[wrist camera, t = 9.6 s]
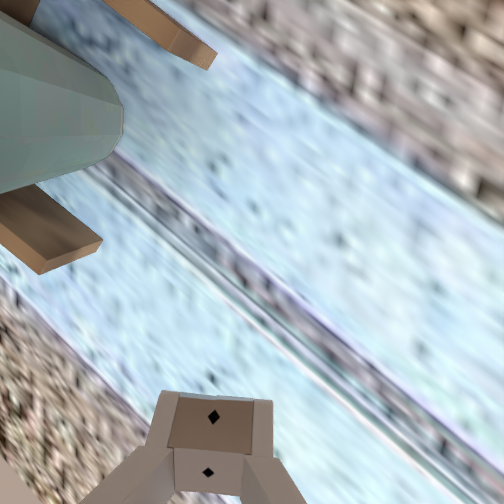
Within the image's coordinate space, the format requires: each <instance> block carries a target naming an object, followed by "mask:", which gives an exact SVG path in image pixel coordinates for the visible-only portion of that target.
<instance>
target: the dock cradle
mask: <svg viewBox="0 0 504 504" xmlns="http://www.w3.org/2000/svg"><path fill="white" fill-rule="evenodd" d="M103 1H104V2H105V3H106V4H108V5H109V6H110V7H112V8H113V9H114V10H115V11H117V12H118V13H119V14H120V15H122V16H123V17H124V18H126V19H127V20H128V21H129V22H131V23H132V24H133V25H135V26H136V27H137V28H138V29H140V30H141V31H142V32H143V33H145V34H146V35H147V36H149V37H150V38H151V39H152V40H154V41H155V42H156V43H158V44H159V45H160V46H161V47H163V48H164V49H165V50H166V51H168V52H170V53H172V54H174V55H176V56H178V57H180V58H182V59H184V60H186V61H189V62H191V63H193V64H195V65H197V66H199V67H201V68H203V69H205V70H208V68H209V67H210V65H211V63H212V62H213V60H214V59H215V57H216V55H217V54H218V53H217V52H215V51H214V50H213V49H211V48H210V47H209V46H208V45H206V44H205V43H204V42H202V41H201V40H200V39H199V38H197V37H196V36H195V35H193V34H192V33H191V32H190V31H188V30H187V29H186V28H184V27H183V26H182V25H181V24H179V23H178V22H177V21H175V20H174V19H173V18H172V17H170V16H169V15H168V14H166V13H165V12H164V11H163V10H161V9H160V8H159V7H158V6H156V5H155V4H154V3H152V2H151V1H150V0H103ZM39 2H40V0H0V11H1V12H3V13H5V14H6V15H8V16H10V17H11V18H13V19H15V20H16V21H18V22H20V23H21V24H23V25H25V26H26V27H29V24H30V22H31V20H32V18H33V15H34V13H35V11H36V9H37V6H38V4H39ZM102 241H103V239H102V238H101V237H99V236H98V235H97V234H96V233H94V232H93V231H92V230H91V229H89V228H88V227H87V226H86V225H84V224H83V223H82V222H81V221H79V220H78V219H77V218H76V217H75V216H73V215H72V214H71V213H70V212H68V211H67V210H66V209H65V208H63V207H62V206H61V205H60V204H58V203H57V202H56V201H55V200H53V199H52V198H51V197H50V196H48V195H47V194H46V193H45V192H44V191H42V190H41V189H40V188H39V187H37V186H36V185H35V184H31V185H28V186H24V187H21V188H18V189H14V190H11V191H8V192H4V193H1V194H0V244H1V245H2V246H4V247H5V248H6V249H7V250H9V251H10V252H11V253H12V254H13V255H15V256H16V257H17V258H18V259H20V260H21V261H22V262H23V263H25V264H26V265H27V266H28V267H29V268H31V269H32V270H33V271H34V272H36V273H37V274H38V275H41V274H43V273H46V272H48V271H51V270H53V269H56V268H58V267H60V266H63V265H65V264H68V263H70V262H72V261H75V260H77V259H80V258H82V257H84V256H87V255H89V254H92V253H94V252H96V251H97V249H98V247H99V246H100V244H101V242H102Z"/></svg>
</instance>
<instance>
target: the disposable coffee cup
mask: <svg viewBox="0 0 504 504" xmlns="http://www.w3.org/2000/svg"><path fill="white" fill-rule="evenodd" d="M122 131H123V107H122V105H121V102H120V100H119V98H118V96H117V93H116V91H115V89H114V87H113V85H112V84H111V82H110V80H109V79H107V78H106V77H105V76H104V75H102V74H101V73H100V72H98V71H97V70H96V69H95V68H93V67H92V66H91V65H90V64H88V63H87V62H85V61H83V60H82V59H80V58H78V57H77V56H75V55H73V54H72V53H70V52H68V51H67V50H65V49H63V48H62V47H60V46H58V45H56V44H55V43H53V42H51V41H50V40H48V39H46V38H45V37H43V36H41V35H40V34H38V33H36V32H35V31H33V30H31V29H30V28H28V27H26V26H25V25H23V24H21V23H20V22H18V21H16V20H15V19H13V18H11V17H10V16H8V15H6V14H5V13H3V12H1V11H0V194H1V193H4V192H8V191H11V190H14V189H18V188H21V187H24V186H28V185H31V184H34V183H38V182H41V181H44V180H48V179H51V178H54V177H57V176H61V175H64V174H67V173H71V172H74V171H77V170H81V169H84V168H87V167H89V166H91V165H93V164H95V163H97V162H99V161H101V160H103V159H105V158H107V157H108V156H109V154H110V153H112V151H113V149H114V147H115V146H116V144H117V142H118V140H119V139H120V137H121V135H122Z"/></svg>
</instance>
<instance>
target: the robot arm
mask: <svg viewBox="0 0 504 504" xmlns="http://www.w3.org/2000/svg"><path fill="white" fill-rule="evenodd" d="M174 491H189V492H205V493H207V491H208V493H215V494H223V495H231V496H240V500H241V502H242V504H307V503H306V501H305V499H304V498H303V496H302V494H301V493H300V491H299V490H298V488H297V486H296V485H295V483H294V482H293V480H292V478H291V477H290V475H289V474H288V472H287V470H286V469H285V467H284V466H283V464H282V462H281V461H280V459H279V458H274V457H273V402H272V400H264V399H254V400H253V398H245V397H232V396H219V395H217V396H211V395H203V394H194V393H186V392H177V391H166V390H162V391H161V393H160V395H159V398H158V401H157V405H156V409H155V412H154V416H153V419H152V423H151V426H150V430H149V433H148V437H147V440H146V444H145V446H138V447H137V448H136V449H135V450H134V451H133V452H132V453H131V454H130V455H129V456H128V457H127V458H126V459H125V460H124V461H123V462H122V463H121V464H119V465H118V466H117V467H116V468H115V469H114V470H113V471H112V472H111V473H110V474H109V475H108V476H107V477H106V478H105V479H104V480H103V481H102V482H101V483H100V484H99V485H98V486H97V487H95V488H94V489H93V490H92V491H91V492H90V493H89V494H88V495H87V496H86V497H85V498H84V499H83V500H82V501H81V502H80V503H79V504H166V503H167V502H168V501H169V499H170V498H171V497H172V495H173V494H174Z"/></svg>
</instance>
